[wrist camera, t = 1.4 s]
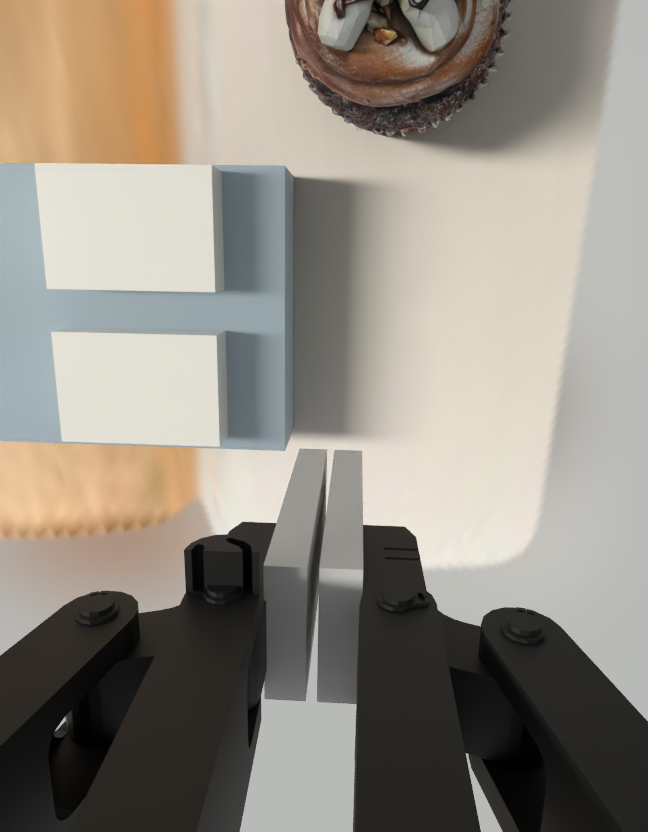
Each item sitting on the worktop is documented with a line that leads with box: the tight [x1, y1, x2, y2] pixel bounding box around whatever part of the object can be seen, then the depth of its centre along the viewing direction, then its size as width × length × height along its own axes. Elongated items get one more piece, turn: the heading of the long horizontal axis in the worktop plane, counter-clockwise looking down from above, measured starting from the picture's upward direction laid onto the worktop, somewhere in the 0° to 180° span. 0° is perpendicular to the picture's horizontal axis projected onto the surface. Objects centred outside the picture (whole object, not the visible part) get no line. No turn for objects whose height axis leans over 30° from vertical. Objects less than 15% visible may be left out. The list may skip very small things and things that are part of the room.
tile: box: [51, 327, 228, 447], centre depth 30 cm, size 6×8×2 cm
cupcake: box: [285, 0, 514, 137], centre depth 26 cm, size 10×10×10 cm
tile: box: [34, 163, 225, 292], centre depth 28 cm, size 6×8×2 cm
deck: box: [0, 163, 294, 451], centre depth 32 cm, size 14×16×4 cm
